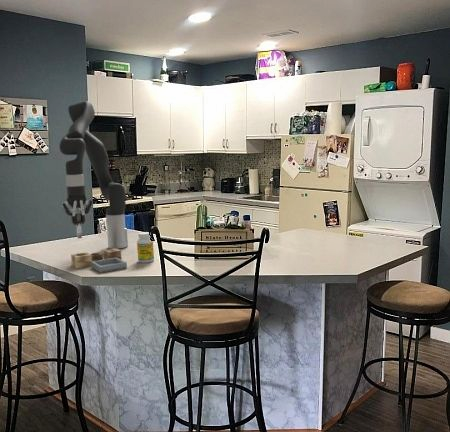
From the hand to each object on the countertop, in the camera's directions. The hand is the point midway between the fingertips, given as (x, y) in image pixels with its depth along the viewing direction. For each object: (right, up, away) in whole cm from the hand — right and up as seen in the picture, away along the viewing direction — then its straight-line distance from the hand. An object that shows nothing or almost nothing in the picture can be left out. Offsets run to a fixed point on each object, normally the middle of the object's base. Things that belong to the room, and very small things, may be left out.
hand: (78, 223), depth 220 cm
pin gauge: (0, -6, +1) cm, 6 cm away
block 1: (+1, -19, +3) cm, 19 cm away
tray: (+14, -19, -3) cm, 24 cm away
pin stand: (+5, -17, +11) cm, 21 cm away
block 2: (+13, -17, +10) cm, 24 cm away
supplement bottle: (+28, -17, +8) cm, 34 cm away
